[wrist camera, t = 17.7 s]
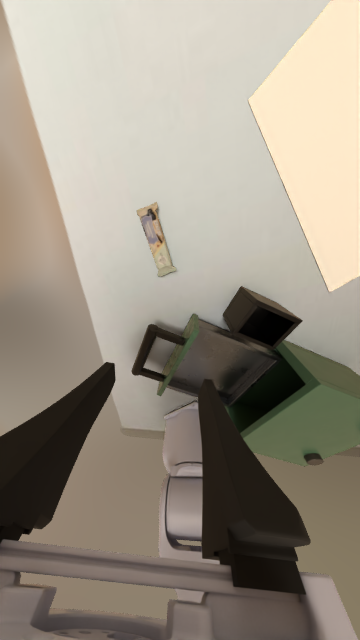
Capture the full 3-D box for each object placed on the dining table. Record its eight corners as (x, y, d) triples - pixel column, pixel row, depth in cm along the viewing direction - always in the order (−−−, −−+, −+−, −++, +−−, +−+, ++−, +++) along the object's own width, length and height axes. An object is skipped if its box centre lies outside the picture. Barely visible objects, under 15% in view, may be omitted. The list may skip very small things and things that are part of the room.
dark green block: (220, 396, 29) (232, 452, 21) (277, 336, 21) (327, 390, 14) (278, 415, 31) (308, 472, 23) (348, 367, 23) (426, 428, 16)
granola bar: (177, 270, 17) (176, 272, 16) (159, 276, 18) (157, 277, 17) (157, 202, 14) (155, 200, 13) (136, 211, 15) (133, 209, 14)
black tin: (222, 314, 20) (231, 334, 16) (241, 285, 18) (257, 299, 14) (255, 328, 21) (272, 351, 16) (277, 302, 19) (303, 320, 14)
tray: (134, 365, 25) (125, 385, 21) (159, 299, 19) (152, 312, 15) (226, 395, 27) (232, 418, 24) (274, 346, 21) (291, 367, 18)
